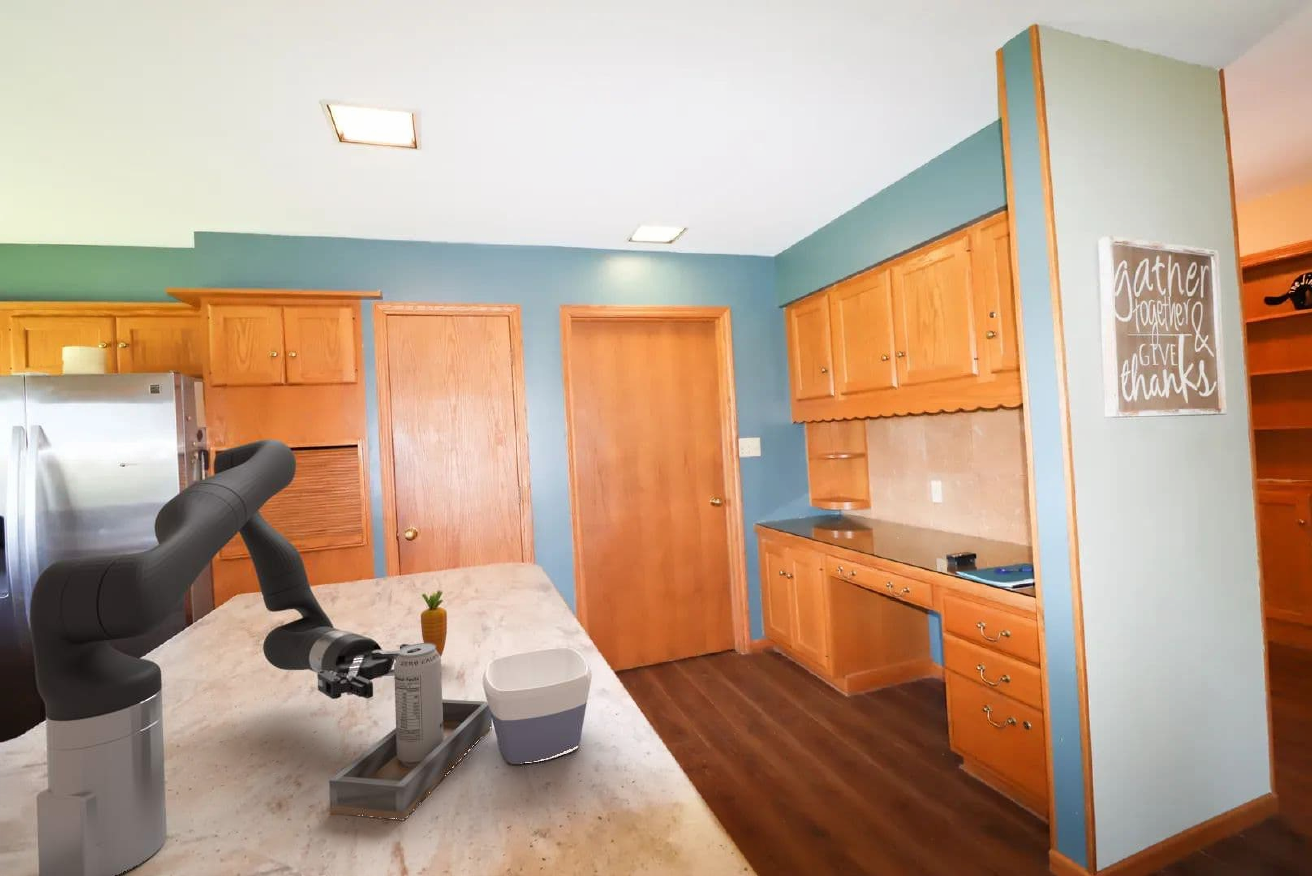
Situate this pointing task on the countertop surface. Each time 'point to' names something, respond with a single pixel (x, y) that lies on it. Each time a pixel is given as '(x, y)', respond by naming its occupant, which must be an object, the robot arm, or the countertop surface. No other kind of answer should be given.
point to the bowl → (537, 702)
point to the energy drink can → (418, 702)
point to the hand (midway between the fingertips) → (400, 679)
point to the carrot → (434, 622)
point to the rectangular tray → (398, 789)
